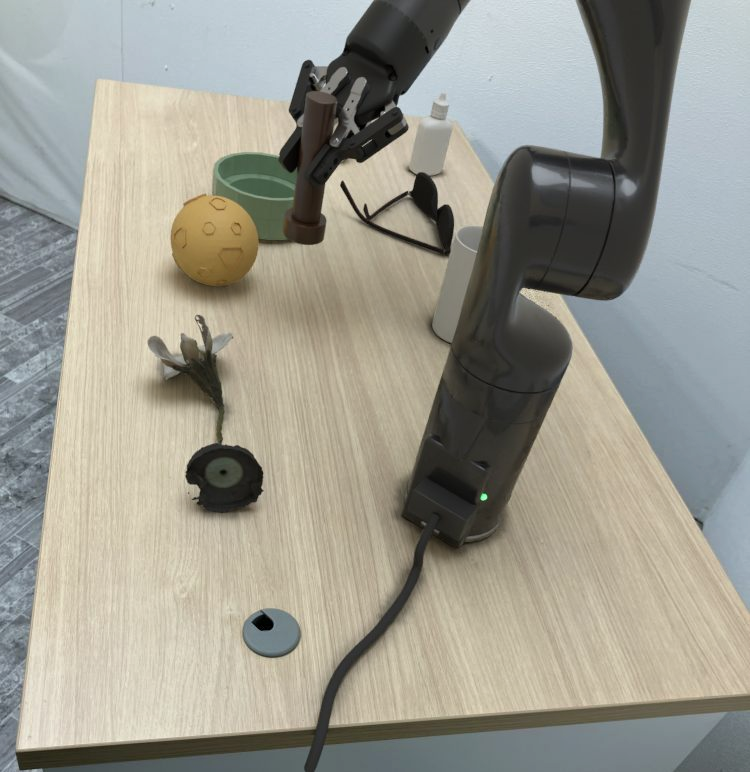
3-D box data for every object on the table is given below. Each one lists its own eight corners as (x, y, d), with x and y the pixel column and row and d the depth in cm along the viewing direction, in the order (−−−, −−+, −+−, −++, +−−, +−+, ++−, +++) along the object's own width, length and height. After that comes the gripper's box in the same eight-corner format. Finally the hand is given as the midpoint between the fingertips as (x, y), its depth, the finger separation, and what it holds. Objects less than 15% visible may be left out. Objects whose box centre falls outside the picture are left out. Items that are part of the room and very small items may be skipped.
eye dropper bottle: (406, 162, 130) (423, 84, 121) (440, 168, 131) (459, 90, 122) (409, 174, 127) (427, 94, 118) (443, 180, 128) (463, 101, 119)
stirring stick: (307, 249, 84) (327, 110, 74) (274, 232, 85) (289, 93, 75) (332, 236, 87) (354, 101, 77) (299, 220, 88) (316, 84, 78)
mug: (486, 351, 96) (518, 260, 87) (431, 343, 95) (458, 250, 86) (478, 305, 103) (506, 217, 94) (426, 297, 102) (451, 207, 93)
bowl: (270, 255, 102) (274, 210, 97) (190, 213, 105) (191, 168, 101) (329, 224, 110) (336, 181, 106) (254, 186, 114) (258, 143, 110)
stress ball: (191, 249, 99) (194, 169, 92) (266, 273, 99) (275, 195, 92) (154, 286, 92) (154, 203, 85) (235, 313, 91) (241, 231, 84)
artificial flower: (169, 525, 70) (134, 433, 63) (172, 387, 86) (145, 302, 80) (271, 506, 70) (247, 412, 64) (254, 371, 87) (234, 286, 81)
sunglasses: (327, 192, 117) (332, 158, 113) (419, 197, 122) (427, 165, 118) (357, 253, 106) (364, 218, 103) (457, 256, 111) (467, 222, 107)
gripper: (337, -25, 78) (230, 123, 79) (447, 27, 72) (332, 184, 73) (364, 31, 85) (266, 166, 86) (467, 82, 79) (361, 226, 80)
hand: (297, 174), depth 80 cm, fingers closed on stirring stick, 3 cm apart
